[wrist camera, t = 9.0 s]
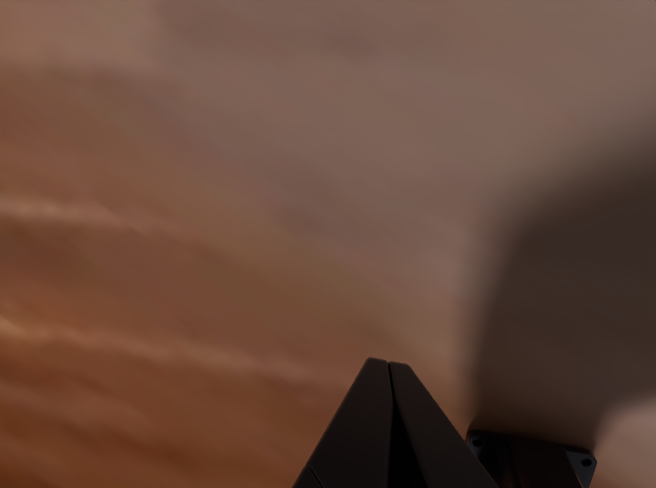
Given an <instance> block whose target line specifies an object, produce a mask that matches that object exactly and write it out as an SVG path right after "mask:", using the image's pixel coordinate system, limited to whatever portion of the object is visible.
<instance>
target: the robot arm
mask: <svg viewBox="0 0 656 488" xmlns="http://www.w3.org/2000/svg"><path fill="white" fill-rule="evenodd" d="M475 439H479V440H480V441H478V442H475V441H474V440H475ZM587 458H588V459H587ZM583 459H587V460H585V461H582V460H583ZM596 465H597V461H596V458H595V457H594V455H593V453H592V452H591V451H590V450H587V449H582V448H577V447H571V446H565V445H560V444H555V443H549V442H543V441H538V440H532V439H526V438H520V437H515V436H508V435H502V434H496V433H491V432H485V431H479V430H473V431H471V432H469V433H468V435H467V438H466V442H465V441H464V439H463V438H462V437H461V435H460V434H459V433H458V431H457V430H456V429H455V427H454V426H453V425H452V423H451V422H450V420H449V419H448V418H447V416H446V415H445V414H444V412H443V411H442V410H441V408H440V407H439V405H438V404H437V403H436V401H435V400H434V399H433V397H432V396H431V395H430V393H429V392H428V391H427V389H426V388H425V386H424V385H423V384H422V382H421V381H420V380H419V378H418V377H417V376H416V374H415V373H414V371H413V370H412V369H411V367H410V366H409V365H407V364H404V363H399V362H393V361H390V362H389V363H388V362H387V361H386V360H383V359H377V358H372V357H369V358H368V359H367V360H366V362H365V363H364V365H363V367H362V368H361V370H360V372H359V374H358V375H357V377H356V379H355V381H354V382H353V384H352V386H351V387H350V389H349V391H348V393H347V394H346V396H345V398H344V399H343V401H342V403H341V405H340V406H339V408H338V410H337V412H336V413H335V415H334V417H333V418H332V420H331V422H330V424H329V425H328V427H327V429H326V430H325V432H324V434H323V436H322V437H321V439H320V441H319V443H318V444H317V446H316V448H315V449H314V451H313V453H312V455H311V456H310V458H309V460H308V461H307V463H306V466H305V467H304V468H303V470H302V471H301V473H300V475H299V476H298V478H297V480H296V482H295V483H294V485H293V486H292V488H589V486H590V483H591V480H592V477H593V474H594V471H595V468H596Z"/></svg>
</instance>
